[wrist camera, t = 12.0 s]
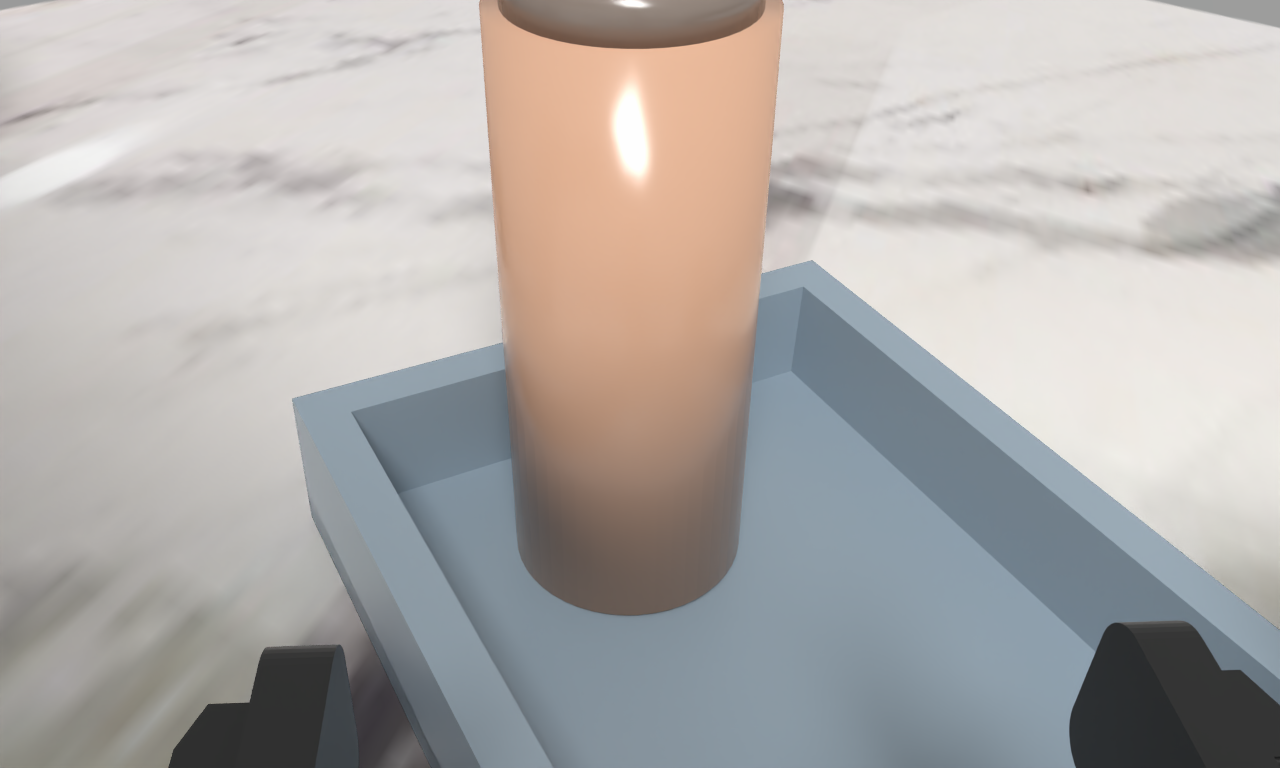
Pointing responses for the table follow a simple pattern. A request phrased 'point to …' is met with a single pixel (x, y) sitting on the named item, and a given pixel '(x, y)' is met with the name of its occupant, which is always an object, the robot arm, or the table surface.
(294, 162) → the table surface
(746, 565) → the tote
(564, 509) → the terracotta jar
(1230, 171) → the table surface
